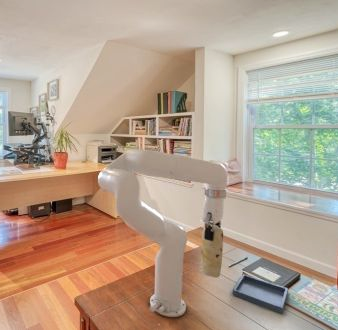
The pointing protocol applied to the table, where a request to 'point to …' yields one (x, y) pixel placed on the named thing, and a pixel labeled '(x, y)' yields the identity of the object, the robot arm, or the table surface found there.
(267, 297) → the serving tray
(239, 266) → the table surface
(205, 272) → the food model
